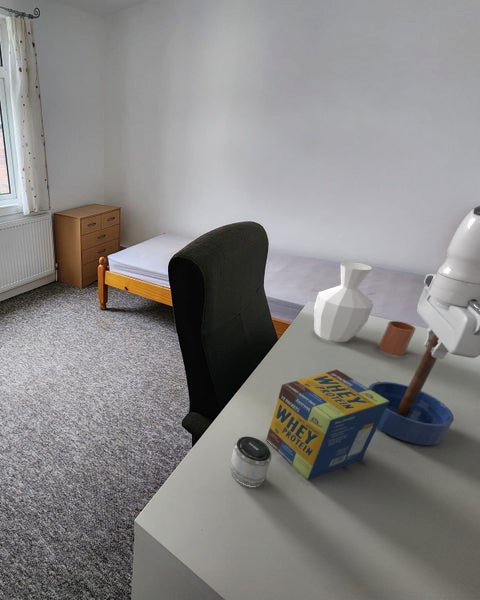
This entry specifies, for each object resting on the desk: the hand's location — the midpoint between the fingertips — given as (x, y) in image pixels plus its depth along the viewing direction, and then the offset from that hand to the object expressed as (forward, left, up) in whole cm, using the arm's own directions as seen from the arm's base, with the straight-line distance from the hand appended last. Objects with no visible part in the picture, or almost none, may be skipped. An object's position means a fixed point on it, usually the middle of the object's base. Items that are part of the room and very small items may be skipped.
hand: (433, 352), depth 70 cm
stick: (0, 0, -17) cm, 17 cm away
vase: (+9, -38, -19) cm, 44 cm away
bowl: (0, 0, -19) cm, 19 cm away
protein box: (+18, +18, -19) cm, 32 cm away
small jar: (+30, +31, -19) cm, 47 cm away
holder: (-6, -36, -19) cm, 41 cm away
